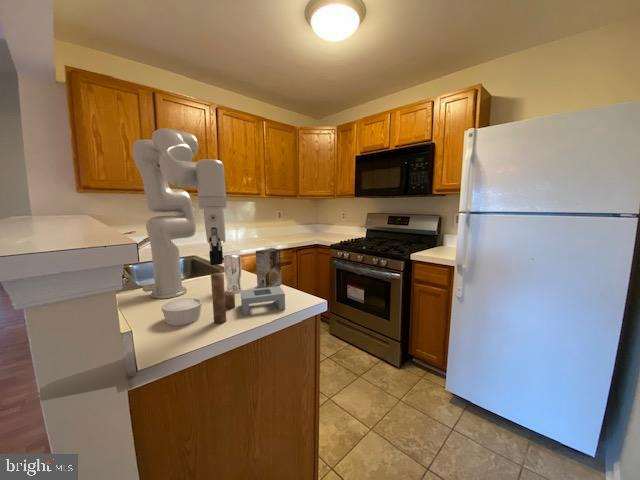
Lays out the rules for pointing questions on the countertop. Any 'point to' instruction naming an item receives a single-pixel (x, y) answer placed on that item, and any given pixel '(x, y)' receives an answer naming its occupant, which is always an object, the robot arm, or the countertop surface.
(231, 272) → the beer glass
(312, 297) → the countertop surface
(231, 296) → the brown upright block
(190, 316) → the ramekin
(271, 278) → the coffee box
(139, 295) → the countertop surface
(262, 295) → the hole bridge
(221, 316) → the tall brown wooden block
